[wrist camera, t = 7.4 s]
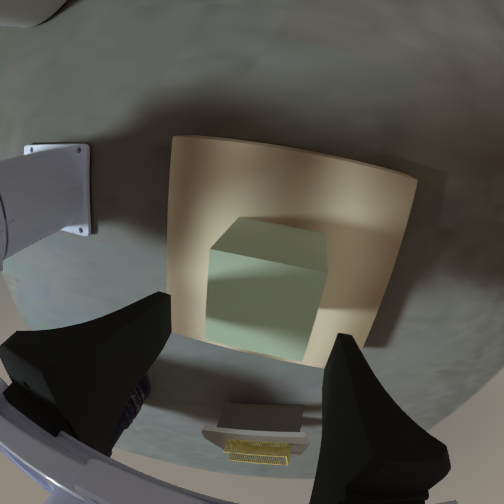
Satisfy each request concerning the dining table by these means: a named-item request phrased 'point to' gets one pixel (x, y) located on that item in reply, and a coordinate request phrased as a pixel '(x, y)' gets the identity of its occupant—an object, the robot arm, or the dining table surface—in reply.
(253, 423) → the platform
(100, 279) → the dining table surface
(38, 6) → the cylinder vase
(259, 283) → the green cube
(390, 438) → the robot arm
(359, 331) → the birch base
